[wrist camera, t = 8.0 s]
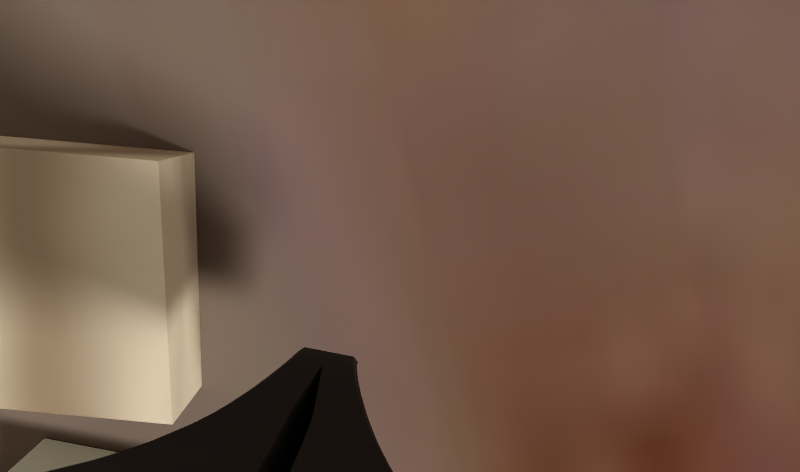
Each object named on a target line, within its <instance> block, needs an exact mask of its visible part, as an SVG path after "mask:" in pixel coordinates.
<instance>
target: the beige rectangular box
mask: <svg viewBox="0 0 800 472" xmlns="http://www.w3.org/2000/svg"><path fill="white" fill-rule="evenodd" d="M201 386H202V383H201V351H200V320H199V288H198V256H197V224H196V193H195V161H194V152H183V151H171V150H160V149H148V148H136V147H125V146H113V145H102V144H90V143H78V142H67V141H55V140H43V139H32V138H20V137H9V136H0V408H2V409H12V410H23V411H33V412H44V413H55V414H65V415H76V416H87V417H97V418H108V419H118V420H129V421H140V422H150V423H161V424H173V423H174V422H175V420H176V419H177V418H178V416H179V415H180V414H181V412H182V411H183V410H184V409H185V407H186V406H187V405H188V403H189V402H190V401H191V399H192V398H193V397H194V395H195V394H196V393H197V391H198V390H199V389H200V387H201Z"/></svg>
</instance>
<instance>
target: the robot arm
mask: <svg viewBox="0 0 800 472" xmlns="http://www.w3.org/2000/svg"><path fill="white" fill-rule="evenodd" d="M46 472H393V471H392V469H391V468H390V466H389V464H388V462H387V460H386V458H385V456H384V454H383V453H382V451H381V449H380V446H379V444H378V442H377V440H376V437H375V435H374V433H373V430H372V427H371V425H370V422H369V419H368V417H367V414H366V410H365V407H364V403H363V400H362V396H361V392H360V388H359V382H358V376H357V361H356V359H355V358H354V357H352V356H347V355H342V354H337V353H331V352H326V351H321V350H316V349H311V348H306V347H304V348H303V349H301V350H300V351H298V352H297V353H296V354H295V355H294V356H293V357H292V358H290V359H289V360H288V361H287V362H286V363H285V364H283V365H282V366H281V367H280V368H278V369H277V370H276V371H275V372H273V373H272V374H271V375H269V376H268V377H267V378H266V379H264V380H263V381H262V382H260V383H259V384H258V385H256V386H255V387H253V388H252V389H251V390H249V391H248V392H246V393H245V394H243V395H241V396H240V397H238V398H237V399H235V400H234V401H232V402H231V403H229V404H228V405H226V406H224V407H223V408H221V409H219V410H218V411H216V412H214V413H212V414H210V415H208V416H207V417H205V418H203V419H201V420H199V421H197V422H195V423H193V424H191V425H188V426H186V427H183V428H181V429H179V430H176V431H174V432H172V433H169V434H167V435H165V436H162V437H160V438H158V439H155V440H153V441H150V442H147V443H144V444H142V445H139V446H136V447H133V448H130V449H127V450H124V451H121V452H118V453H115V454H111V455H108V456H105V457H101V458H98V459H94V460H91V461H87V462H83V463H79V464H75V465H70V466H66V467H62V468H58V469H54V470H50V471H46Z"/></svg>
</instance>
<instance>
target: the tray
mask: <svg viewBox="0 0 800 472" xmlns="http://www.w3.org/2000/svg"><path fill="white" fill-rule="evenodd" d="M115 453H118V452H113V451H108V450H103V449H98V448H92V447H87V446H82V445H77V444H72V443H66V442H61V441H56V440H51V439H46V438H45V439H43V440H42V441H41V442H40V443H39V444H38V445H37V446H36V447H35V448H33V449H32V450H31V451H30V452H29V453H28V454H27V455H26V456H25V457H23V458H22V459H21V460H20V461H19V462H18V463H17V464H16V465H15V466H13V467H12V468H11V469H10V470H9V471H8V472H46V471H50V470H54V469H58V468H62V467H66V466H70V465H75V464H79V463H83V462H87V461H91V460H94V459H98V458H101V457H105V456H108V455H111V454H115Z"/></svg>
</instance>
